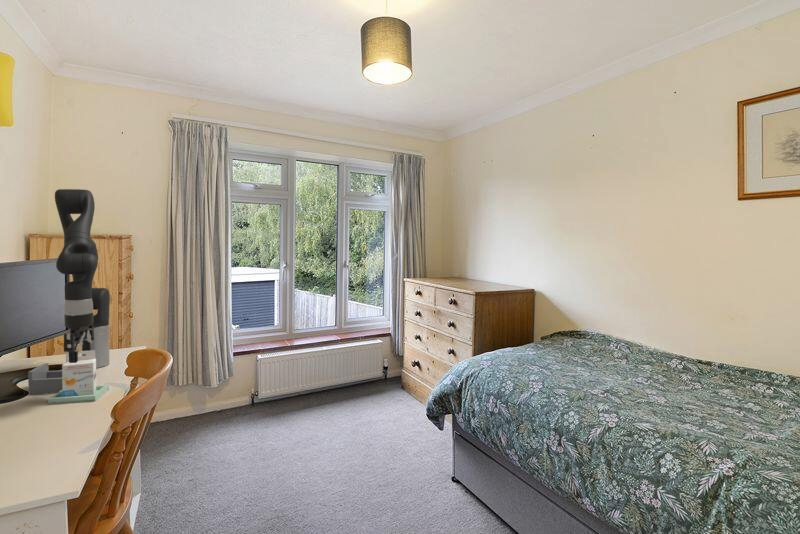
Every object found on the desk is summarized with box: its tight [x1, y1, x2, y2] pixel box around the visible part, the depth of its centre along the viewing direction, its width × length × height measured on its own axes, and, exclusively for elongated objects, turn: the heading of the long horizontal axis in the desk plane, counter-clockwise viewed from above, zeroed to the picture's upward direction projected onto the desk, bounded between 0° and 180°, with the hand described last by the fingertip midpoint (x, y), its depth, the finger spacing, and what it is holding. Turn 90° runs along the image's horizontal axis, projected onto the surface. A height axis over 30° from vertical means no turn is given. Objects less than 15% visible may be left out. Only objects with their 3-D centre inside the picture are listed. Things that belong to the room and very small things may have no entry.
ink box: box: [61, 350, 97, 397], centre depth 130 cm, size 8×5×15 cm, turn 120°
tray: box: [47, 384, 110, 405], centre depth 130 cm, size 10×13×2 cm
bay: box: [27, 362, 62, 395], centre depth 136 cm, size 9×12×8 cm
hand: (80, 358), depth 129 cm, fingers open, 8 cm apart
